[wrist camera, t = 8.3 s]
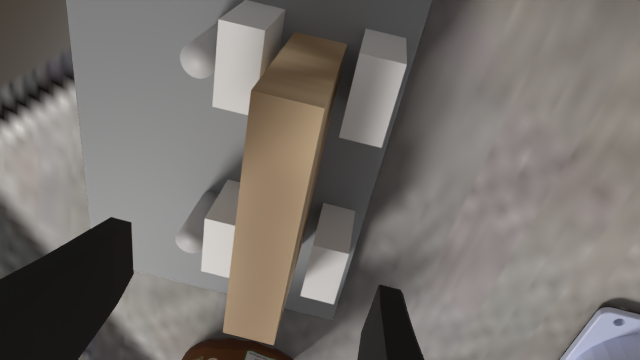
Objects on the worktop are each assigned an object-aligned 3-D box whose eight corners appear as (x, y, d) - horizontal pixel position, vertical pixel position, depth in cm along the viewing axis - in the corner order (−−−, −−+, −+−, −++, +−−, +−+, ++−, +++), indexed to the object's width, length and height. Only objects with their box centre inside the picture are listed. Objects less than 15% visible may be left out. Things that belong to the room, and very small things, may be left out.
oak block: (347, 44, 17) (324, 108, 12) (302, 244, 23) (273, 345, 18) (294, 31, 17) (250, 90, 12) (262, 234, 23) (222, 332, 18)
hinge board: (460, -103, 15) (477, -100, 12) (334, 306, 26) (324, 368, 23) (64, -194, 15) (-29, -216, 12) (103, 248, 26) (60, 301, 23)
